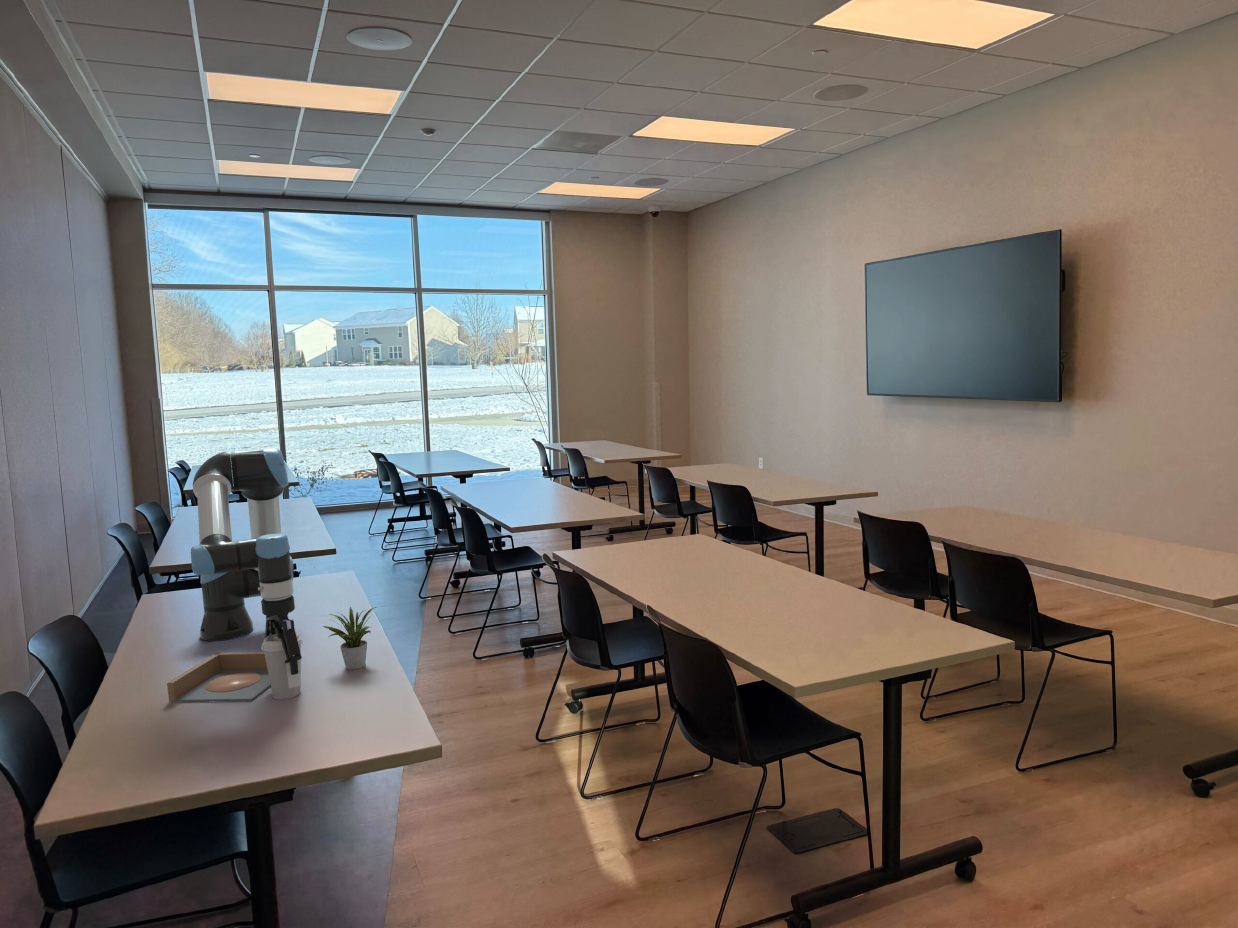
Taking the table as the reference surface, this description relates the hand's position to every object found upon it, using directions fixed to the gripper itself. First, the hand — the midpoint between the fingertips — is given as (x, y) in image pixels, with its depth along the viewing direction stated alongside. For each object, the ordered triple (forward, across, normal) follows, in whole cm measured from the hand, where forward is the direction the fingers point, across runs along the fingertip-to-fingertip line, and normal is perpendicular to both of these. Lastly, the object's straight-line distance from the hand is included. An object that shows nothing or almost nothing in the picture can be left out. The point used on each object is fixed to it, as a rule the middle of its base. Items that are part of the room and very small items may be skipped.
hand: (285, 679), depth 204 cm
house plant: (+4, -8, +22) cm, 23 cm away
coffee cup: (+4, 0, 0) cm, 4 cm away
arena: (+4, -17, -8) cm, 19 cm away
